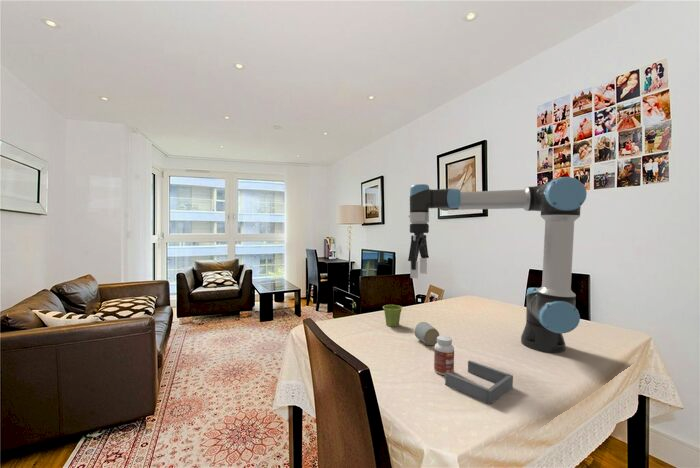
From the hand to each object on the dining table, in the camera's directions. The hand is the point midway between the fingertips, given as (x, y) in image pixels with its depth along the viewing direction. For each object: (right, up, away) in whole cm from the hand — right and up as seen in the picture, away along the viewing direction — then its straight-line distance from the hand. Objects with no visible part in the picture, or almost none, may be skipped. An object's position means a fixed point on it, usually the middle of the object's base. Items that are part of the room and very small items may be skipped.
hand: (418, 275), depth 125 cm
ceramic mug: (+5, -28, +1) cm, 28 cm away
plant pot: (-7, -27, +24) cm, 37 cm away
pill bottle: (+3, -28, -25) cm, 37 cm away
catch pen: (+10, -28, -33) cm, 45 cm away
